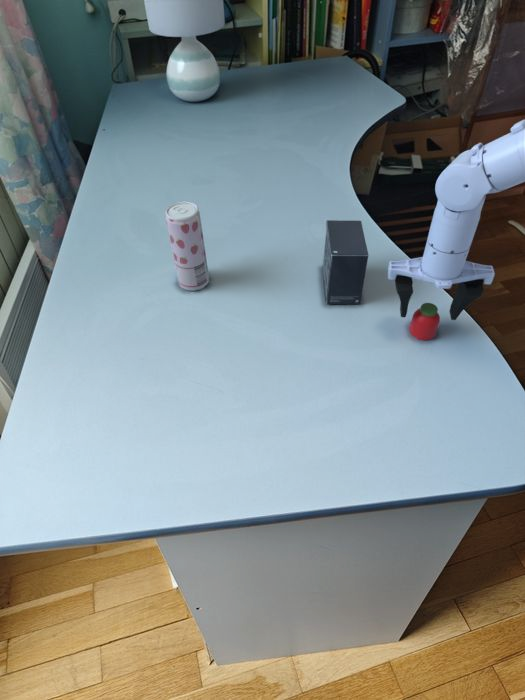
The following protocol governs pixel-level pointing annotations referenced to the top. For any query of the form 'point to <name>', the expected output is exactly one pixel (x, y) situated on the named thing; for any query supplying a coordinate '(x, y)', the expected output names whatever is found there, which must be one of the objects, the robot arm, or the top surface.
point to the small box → (344, 262)
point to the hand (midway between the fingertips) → (427, 314)
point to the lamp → (188, 44)
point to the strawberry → (425, 322)
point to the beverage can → (187, 245)
